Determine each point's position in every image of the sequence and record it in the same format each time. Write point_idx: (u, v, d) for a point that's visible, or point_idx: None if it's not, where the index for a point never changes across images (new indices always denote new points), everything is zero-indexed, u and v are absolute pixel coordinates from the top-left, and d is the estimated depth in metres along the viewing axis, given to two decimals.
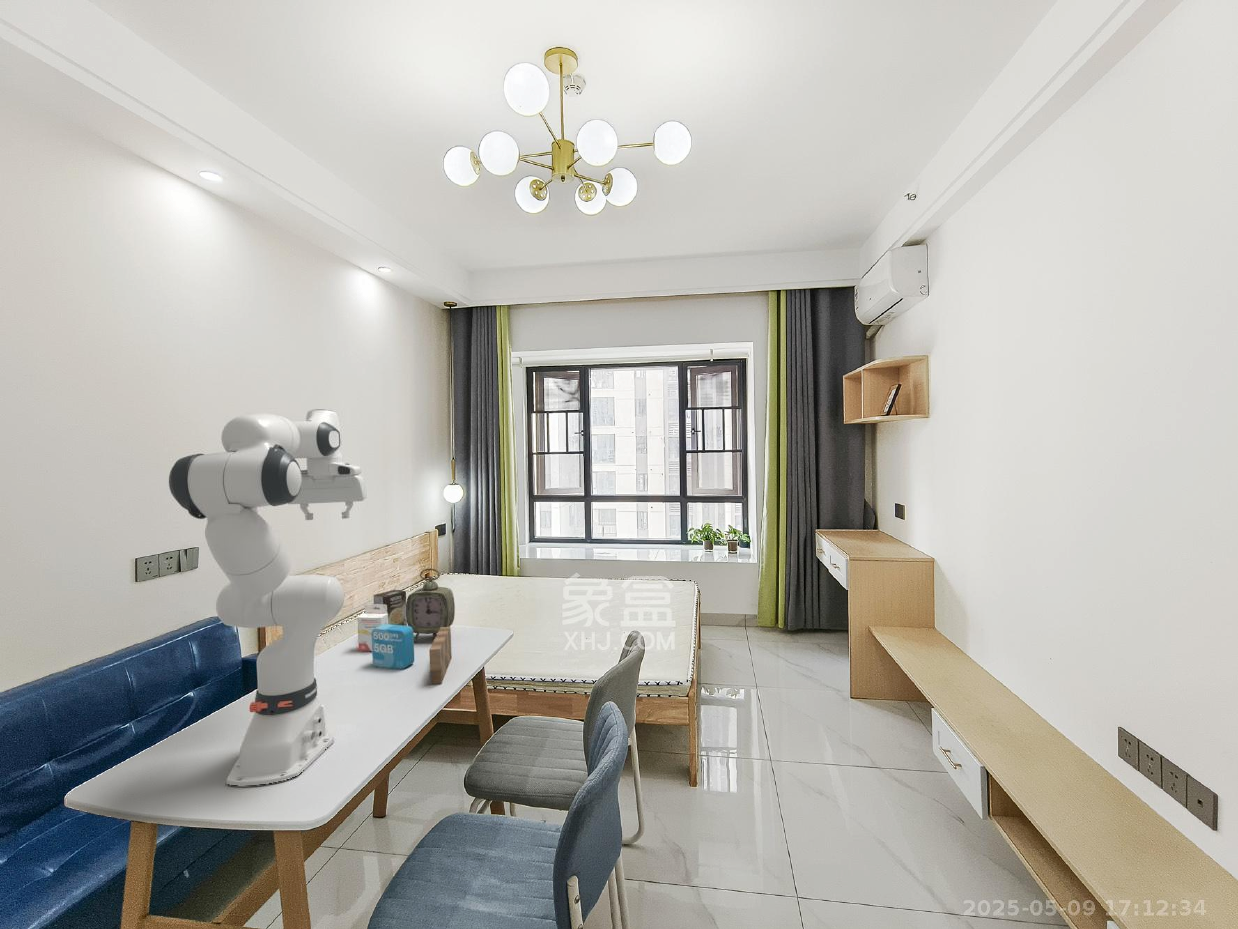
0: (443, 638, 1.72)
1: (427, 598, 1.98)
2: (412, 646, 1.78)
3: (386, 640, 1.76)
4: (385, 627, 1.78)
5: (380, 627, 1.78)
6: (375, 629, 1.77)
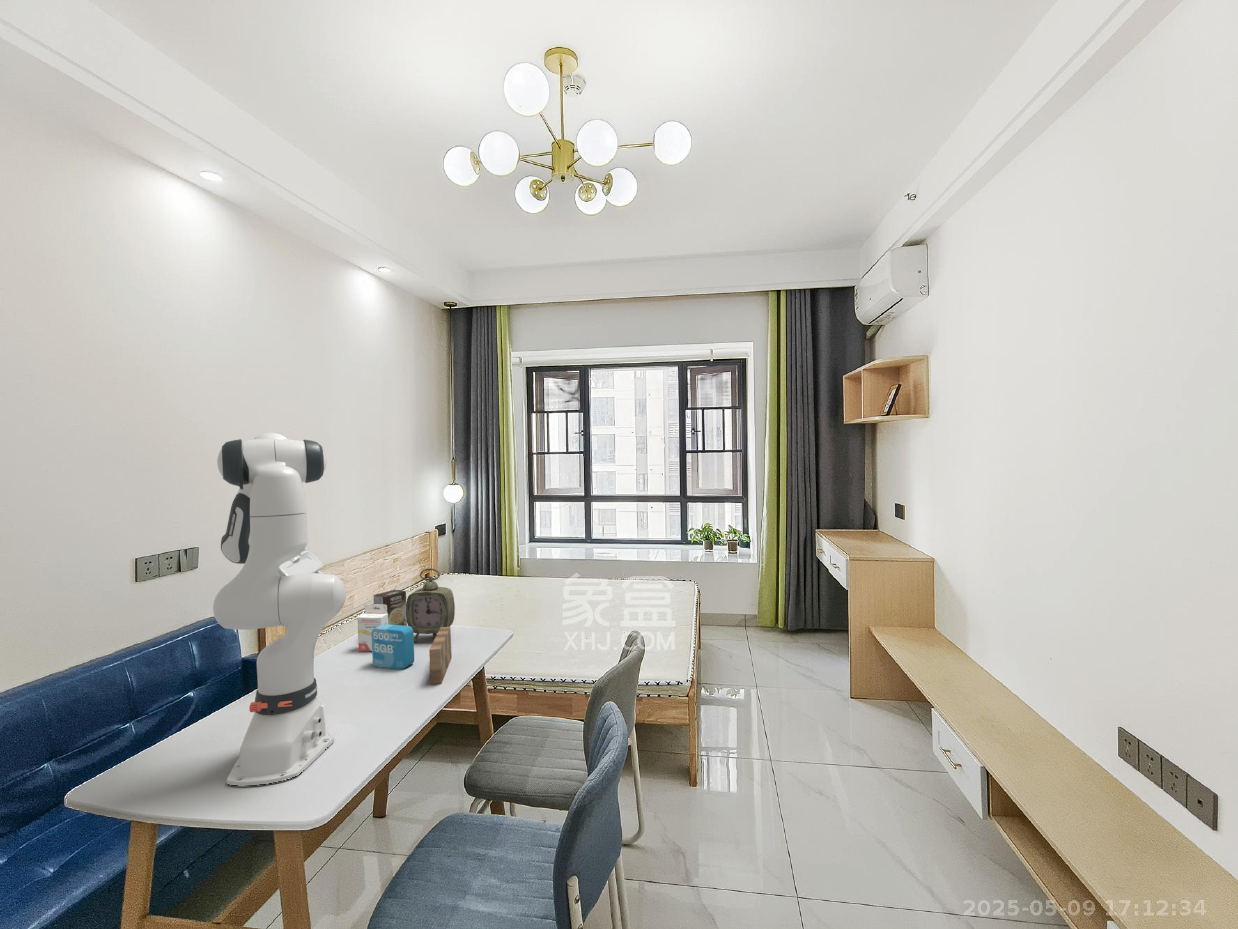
0: (443, 638, 1.72)
1: (427, 598, 1.98)
2: (412, 646, 1.78)
3: (386, 640, 1.76)
4: (385, 627, 1.78)
5: (380, 627, 1.78)
6: (375, 629, 1.77)
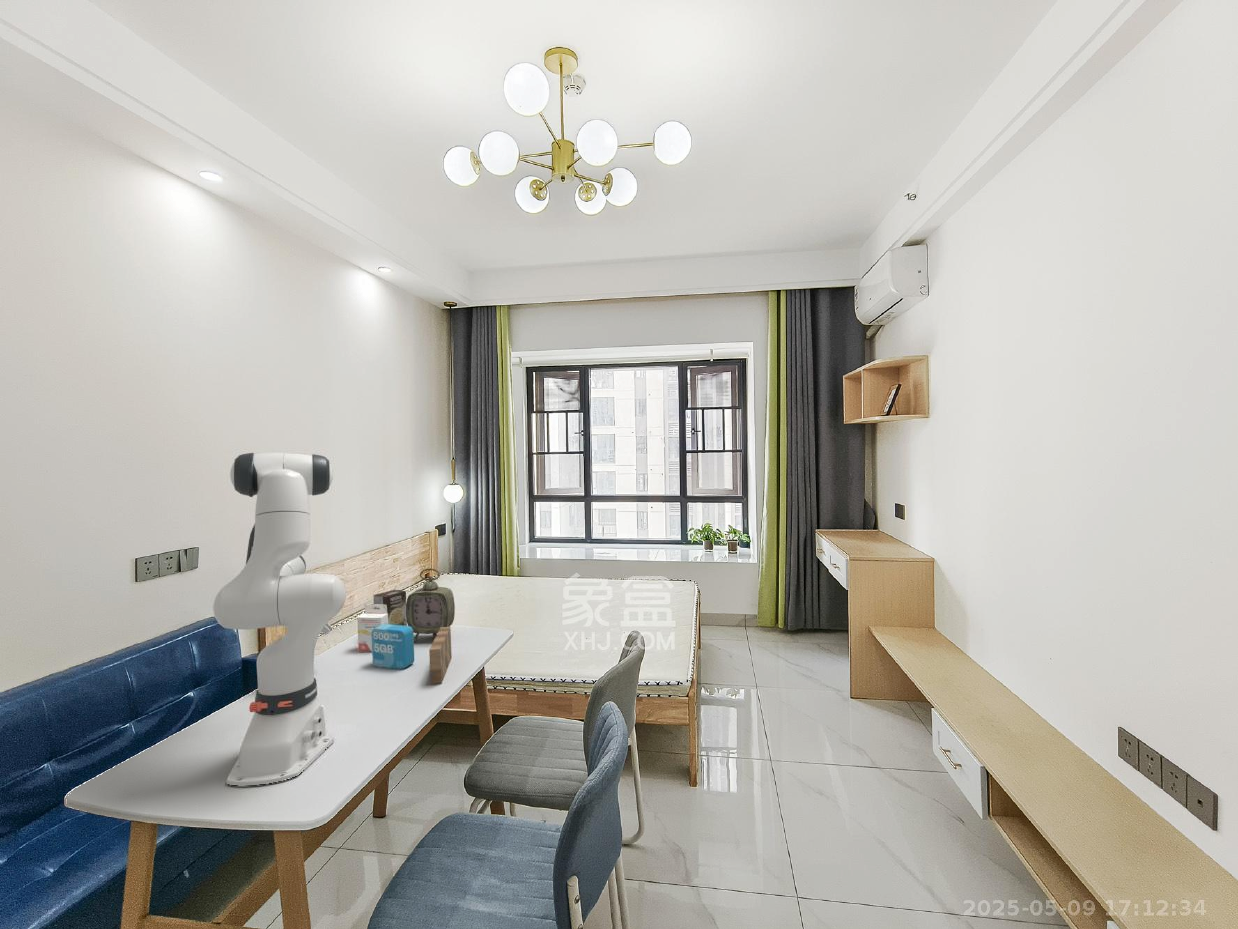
0: (443, 638, 1.72)
1: (427, 598, 1.98)
2: (412, 646, 1.78)
3: (386, 640, 1.76)
4: (385, 627, 1.78)
5: (380, 627, 1.78)
6: (375, 629, 1.77)
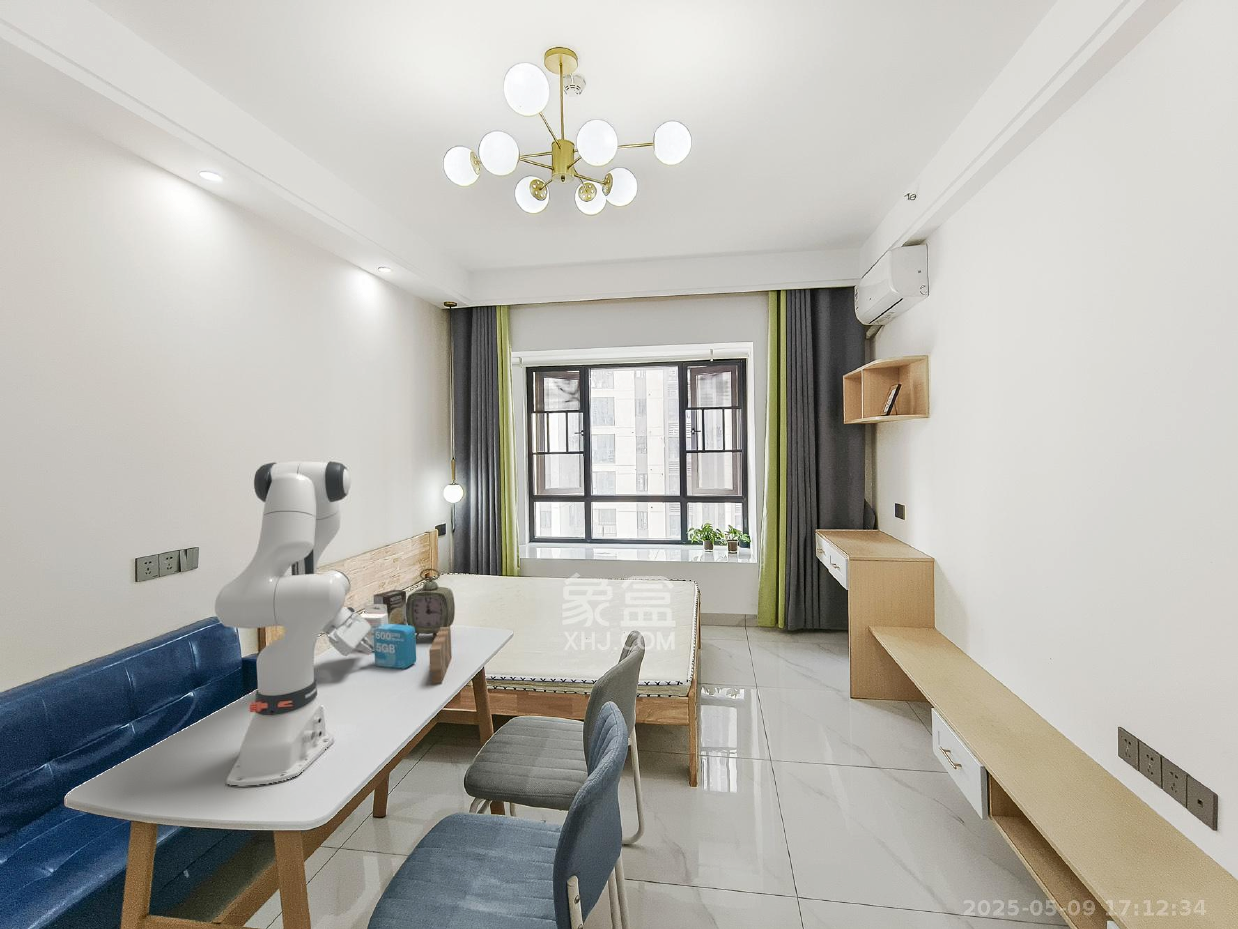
0: (443, 638, 1.72)
1: (427, 598, 1.98)
2: (414, 646, 1.78)
3: (388, 640, 1.76)
4: (387, 627, 1.78)
5: (382, 627, 1.78)
6: (377, 629, 1.77)
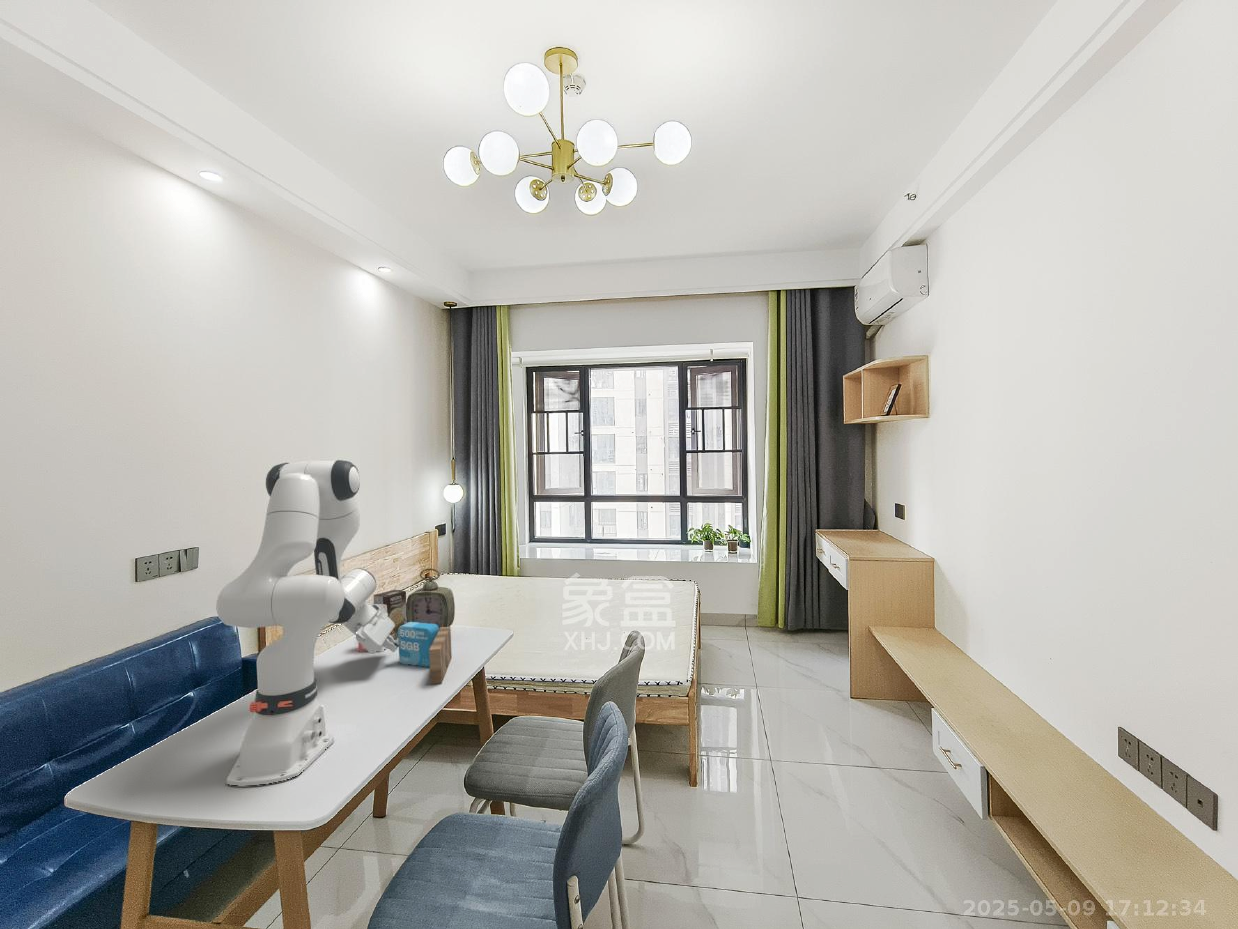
0: (443, 638, 1.72)
1: (427, 598, 1.98)
2: None
3: (413, 638, 1.77)
4: (411, 625, 1.79)
5: (406, 625, 1.79)
6: (401, 627, 1.79)
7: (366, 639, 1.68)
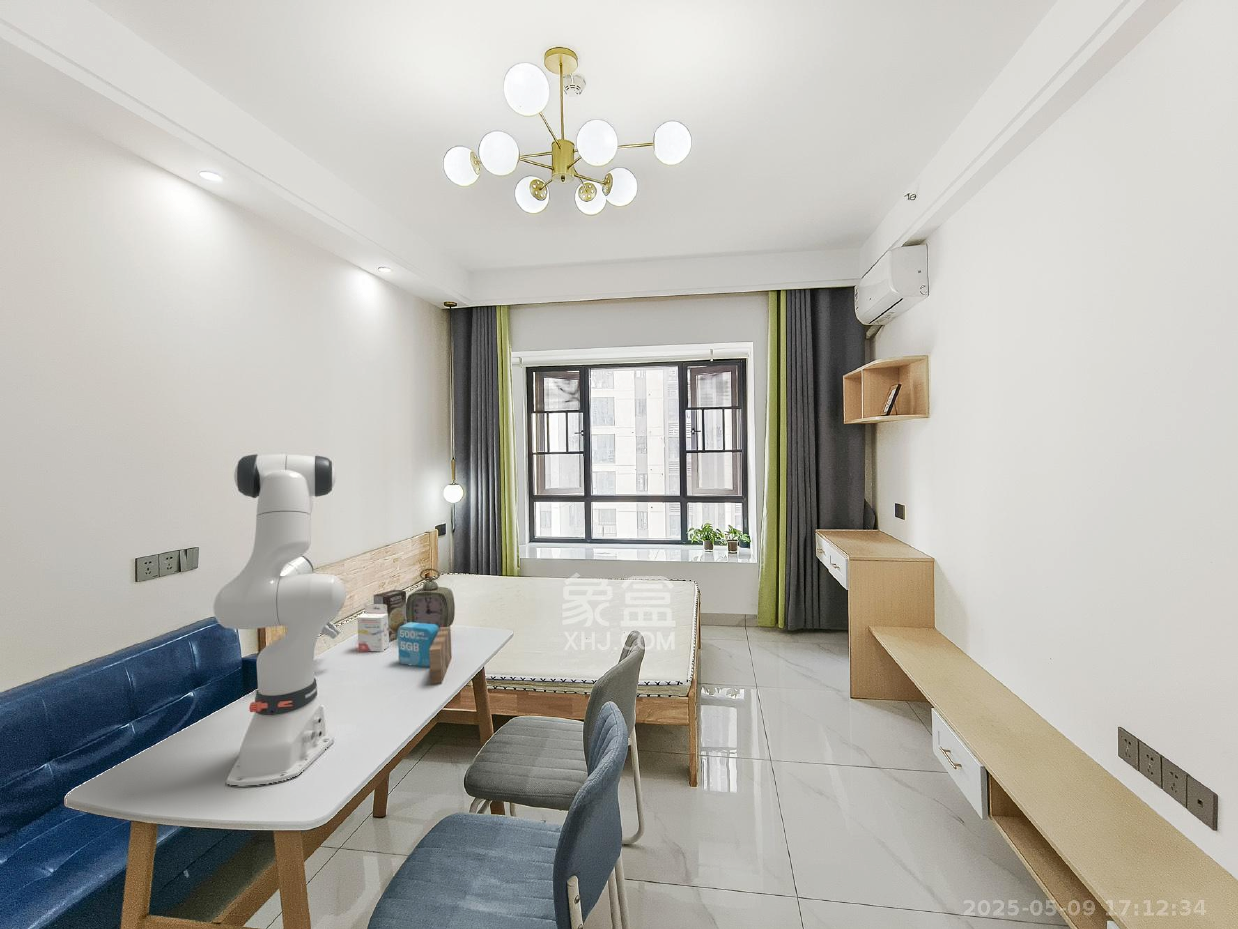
0: (443, 638, 1.72)
1: (427, 598, 1.98)
2: None
3: (413, 638, 1.77)
4: (411, 625, 1.79)
5: (406, 625, 1.79)
6: (401, 627, 1.79)
7: None
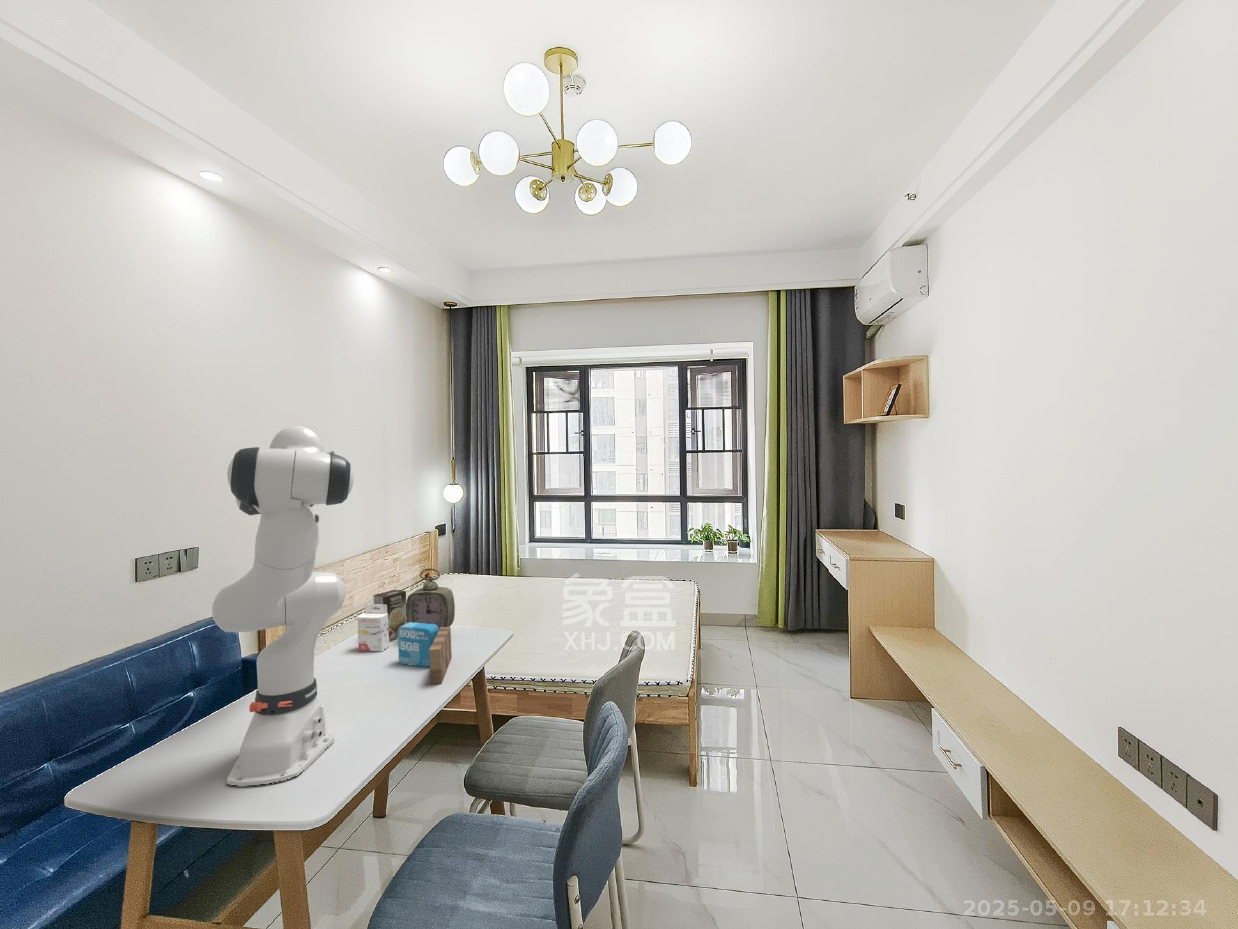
0: (443, 638, 1.72)
1: (427, 598, 1.98)
2: None
3: (413, 638, 1.77)
4: (411, 625, 1.79)
5: (406, 625, 1.79)
6: (401, 627, 1.79)
7: None
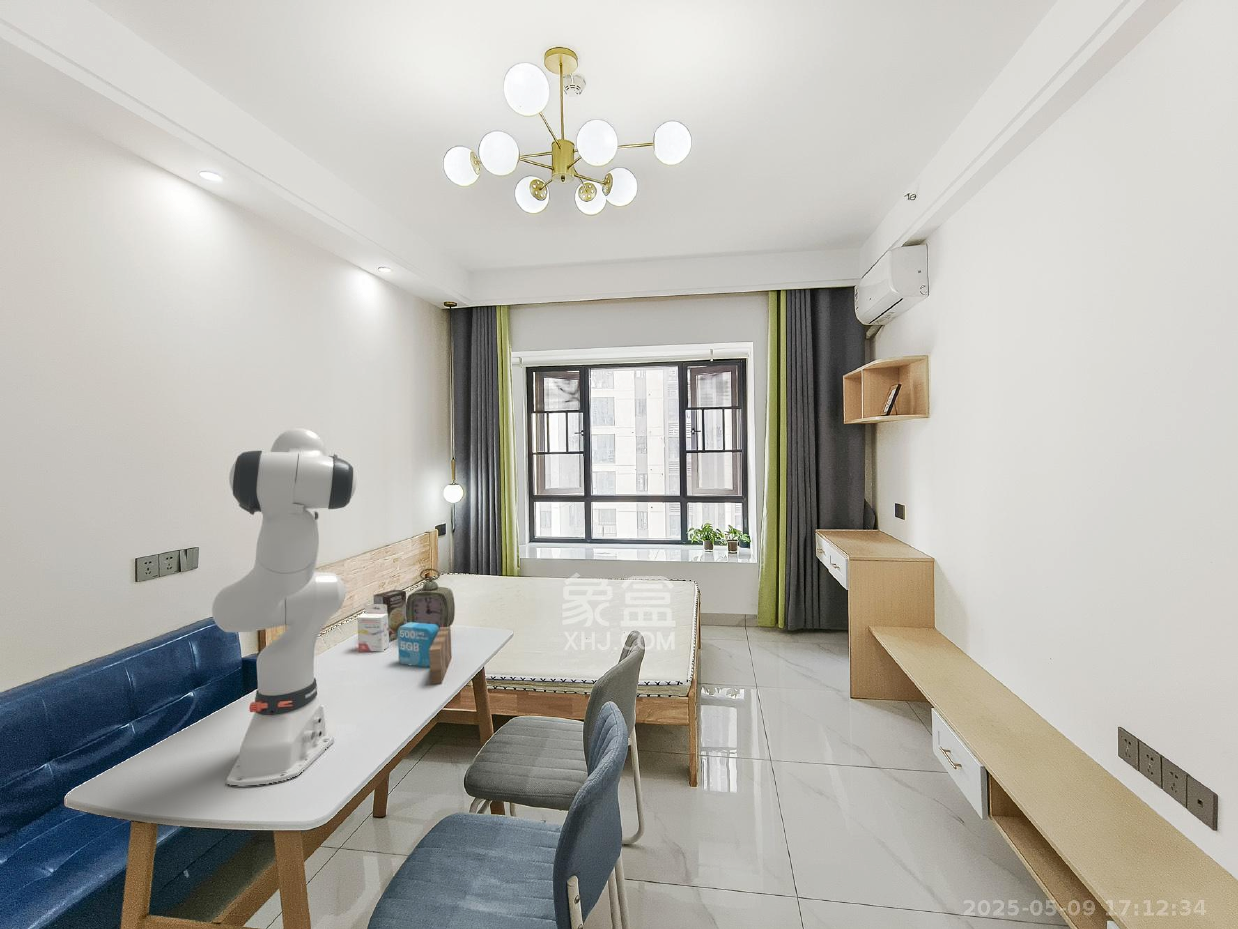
0: (443, 638, 1.72)
1: (427, 598, 1.98)
2: None
3: (413, 638, 1.77)
4: (411, 625, 1.79)
5: (406, 625, 1.79)
6: (401, 627, 1.79)
7: None
